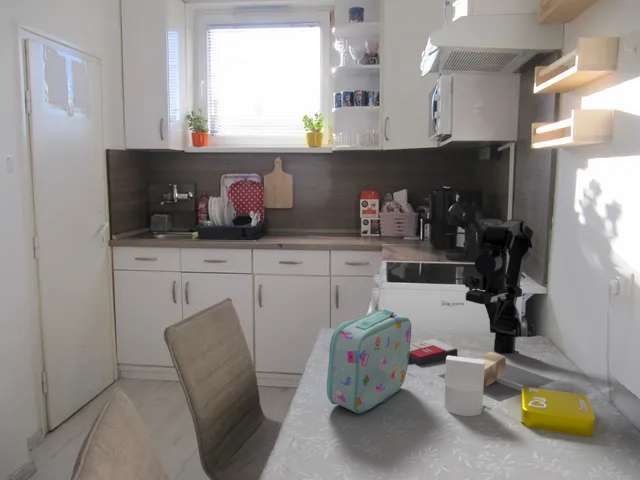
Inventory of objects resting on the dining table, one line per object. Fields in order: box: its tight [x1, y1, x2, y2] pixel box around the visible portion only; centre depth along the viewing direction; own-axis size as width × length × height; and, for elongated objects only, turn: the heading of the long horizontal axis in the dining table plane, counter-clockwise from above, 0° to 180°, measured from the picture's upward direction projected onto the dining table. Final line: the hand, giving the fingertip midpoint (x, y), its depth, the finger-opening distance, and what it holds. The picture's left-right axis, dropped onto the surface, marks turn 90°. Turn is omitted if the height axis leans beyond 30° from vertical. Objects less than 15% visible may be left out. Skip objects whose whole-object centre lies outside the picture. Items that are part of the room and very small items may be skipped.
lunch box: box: [326, 309, 412, 414], centre depth 138 cm, size 27×10×21 cm, turn 144°
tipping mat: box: [437, 363, 556, 402], centre depth 152 cm, size 24×20×2 cm
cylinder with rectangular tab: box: [443, 355, 485, 417], centre depth 134 cm, size 9×9×12 cm
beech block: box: [477, 351, 507, 387], centre depth 149 cm, size 5×5×9 cm
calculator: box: [408, 338, 458, 367], centre depth 168 cm, size 11×4×15 cm
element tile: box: [520, 387, 596, 438], centre depth 130 cm, size 15×15×5 cm
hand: (492, 322), depth 161 cm, fingers closed
